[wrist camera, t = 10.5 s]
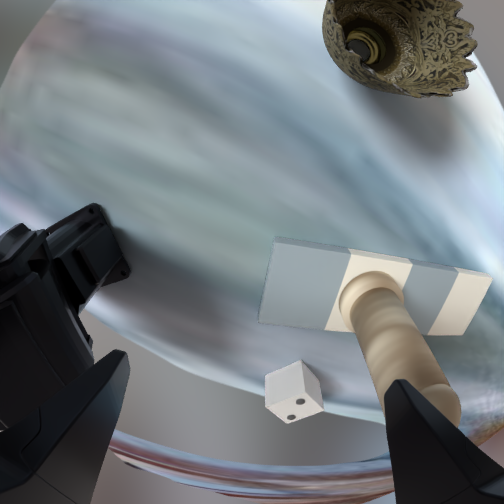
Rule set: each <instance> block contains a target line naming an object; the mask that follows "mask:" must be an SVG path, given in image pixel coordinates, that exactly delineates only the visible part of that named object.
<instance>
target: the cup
mask: <svg viewBox="0 0 504 504" xmlns="http://www.w3.org/2000/svg"><path fill="white" fill-rule="evenodd" d="M461 9H463V5H462V4H461V3H460V2H459V1H456V0H327V2H326V6H325V10H324V14H323V22H322V32H323V38H324V42H325V45H326V48H327V50H328V52H329V54H330V56H331V58H332V59H333V61H334V62H335V63H336V65H337V66H338V67H339V68H340V69H341V70H342V71H343V72H344V73H345V74H346V75H348V76H349V77H350V78H352V79H353V80H355V81H357V82H358V83H360V84H362V85H364V86H367V87H369V88H372V89H375V90H379V91H383V92H388V93H394V94H400V95H407V96H412V97H416V98H421V97H427V98H430V97H433V96H438V97H450V96H453V94H452V92H456V91H461V90H465V89H467V88H468V86H469V82H468V78H467V76H466V72H471V71H473V70H475V69H476V68H477V65H476V64H474V63H473V61H471V60H468V59H466V57H468V56H470V55H472V52H473V51H474V49H475V48H476V47H477V41H476V40H474V39H471V37H469V36H471V35H472V32H473V30H474V26H473V25H472V24H471V23H470V22H468V21H467V20H465V19H463V18H459V17H456V15H457V13H458V12H459V11H460V10H461ZM355 39H358V40H361V41H363V42H365V43H366V44H367V46H368V47H369V49H370V56H369V58H368V59H367V60H365V61H363V59H362V57H361V56H360V55H358V54H356V53H355V52H354V51H353V50H352V49H351V48H349V47H348V43H349V42H350V41H351V40H355Z"/></svg>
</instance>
